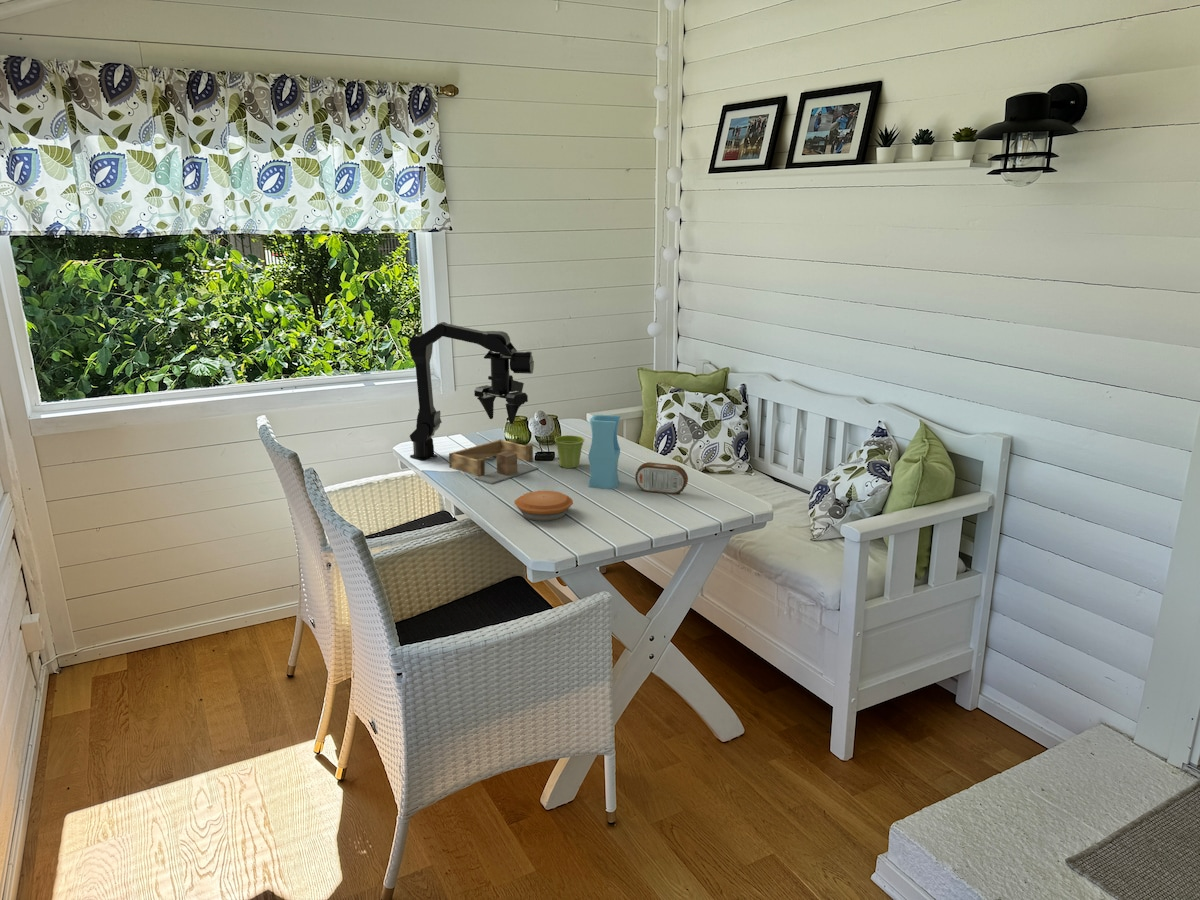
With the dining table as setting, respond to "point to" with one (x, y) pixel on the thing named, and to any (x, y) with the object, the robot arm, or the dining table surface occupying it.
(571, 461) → the plant pot
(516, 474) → the mat
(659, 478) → the tin
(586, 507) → the dining table surface
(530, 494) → the pie
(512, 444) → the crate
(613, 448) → the wavy blue tube
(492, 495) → the dining table surface
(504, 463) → the block
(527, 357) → the robot arm
